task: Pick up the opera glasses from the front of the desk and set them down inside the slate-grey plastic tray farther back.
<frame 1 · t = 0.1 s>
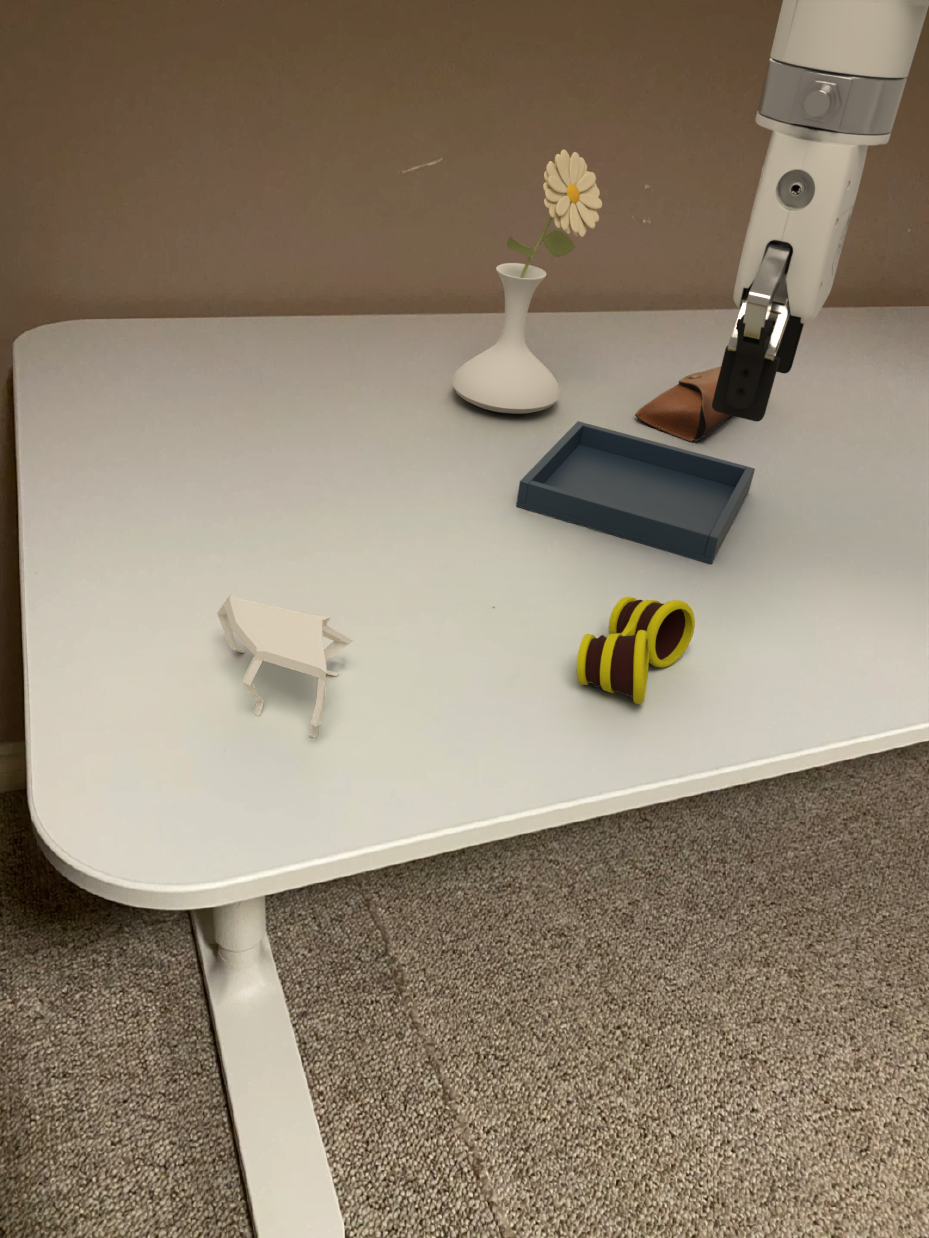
hand: (752, 390, 70), 19 cm above the table, tool pointing down, fingers open, 9 cm apart
flower in vase: (511, 403, 115), on the table
sunglasses case: (700, 411, 118), on the table
tray: (636, 499, 98), on the table
opera glasses: (627, 672, 76), on the table
origami figure: (276, 685, 71), on the table
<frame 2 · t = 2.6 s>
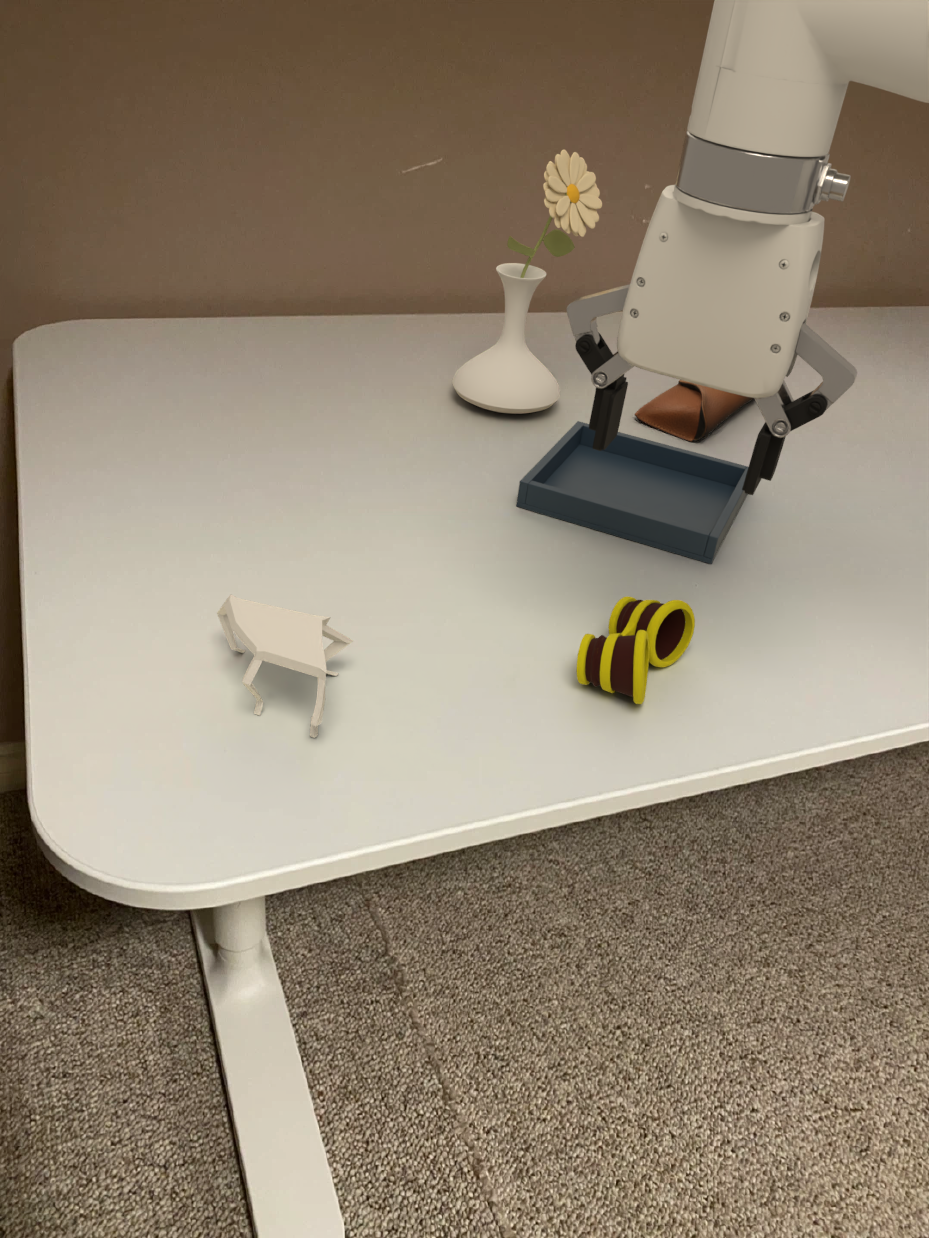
hand: (676, 464, 68), 16 cm above the table, tool pointing down, fingers open, 9 cm apart
nothing on the table moved.
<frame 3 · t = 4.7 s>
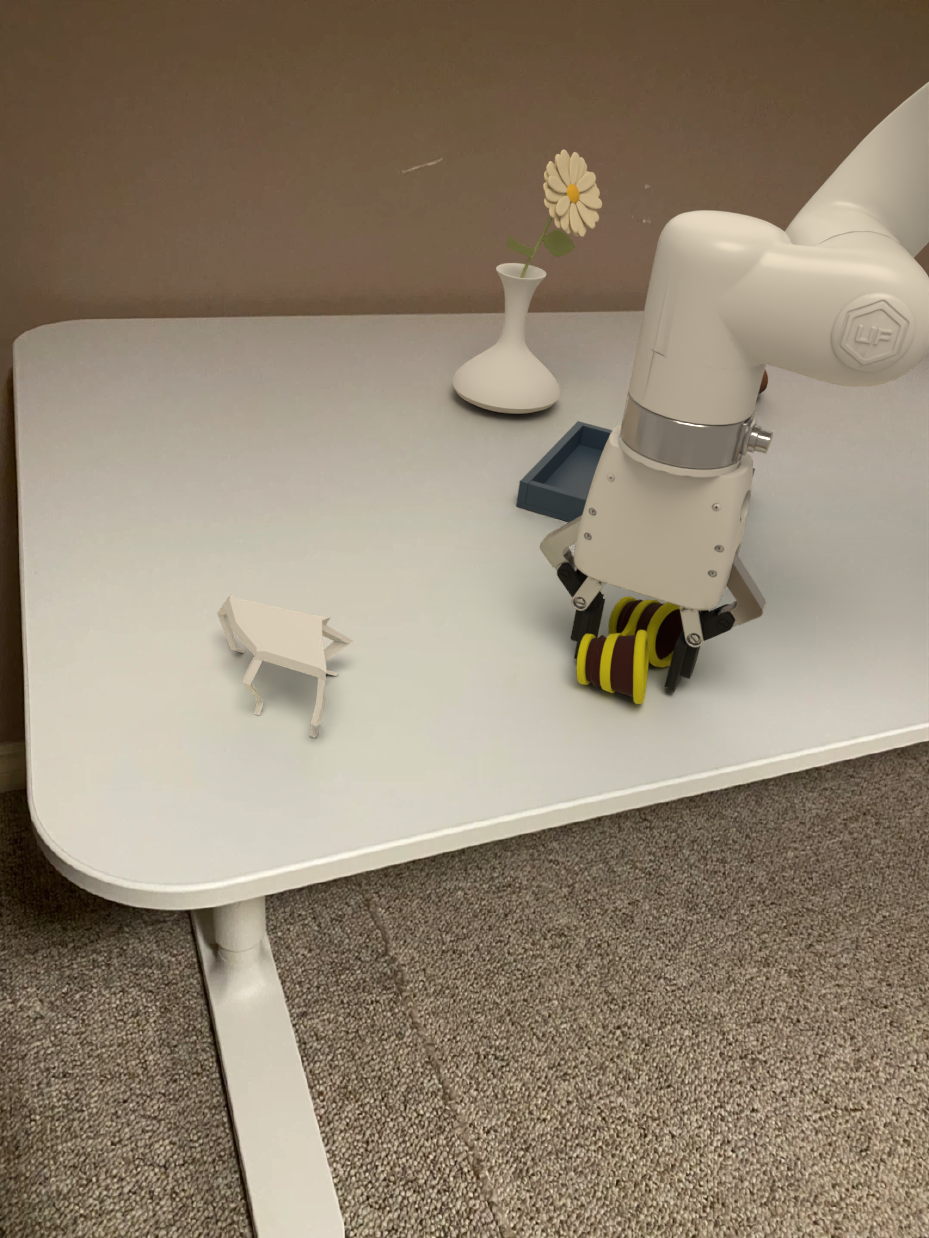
hand: (629, 663, 76), 1 cm above the table, tool pointing down, fingers closed on opera glasses, 5 cm apart
opera glasses: (627, 672, 76), on the table, touching gripper
everything else where it was.
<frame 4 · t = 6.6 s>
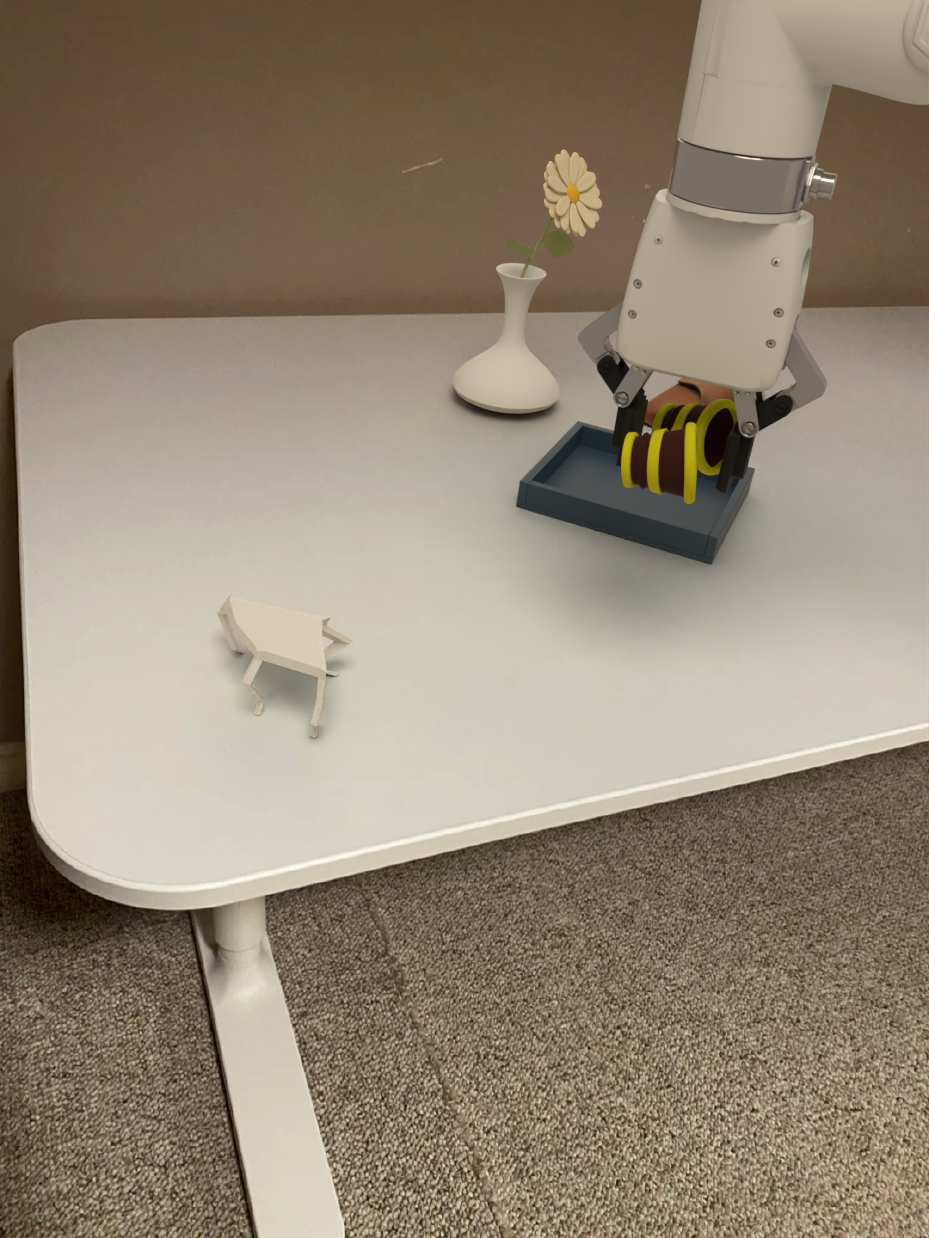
hand: (675, 469, 70), 14 cm above the table, tool pointing down, fingers closed on opera glasses, 5 cm apart
opera glasses: (673, 480, 71), point 14 cm above the table, touching gripper
everything else where it was.
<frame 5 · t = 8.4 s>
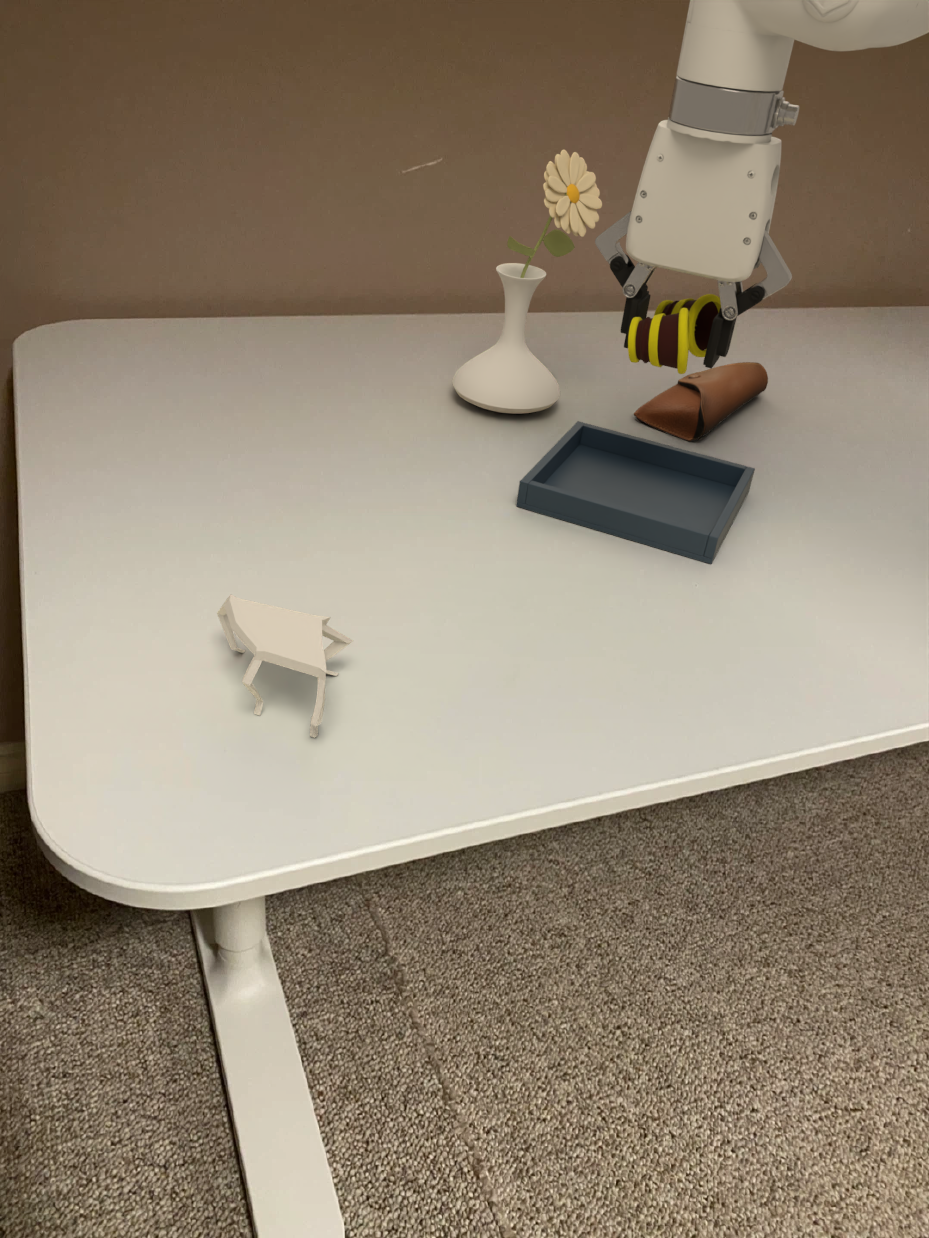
hand: (671, 351, 87), 15 cm above the table, tool pointing down, fingers closed on opera glasses, 5 cm apart
opera glasses: (669, 360, 88), point 14 cm above the table, touching gripper
everything else where it was.
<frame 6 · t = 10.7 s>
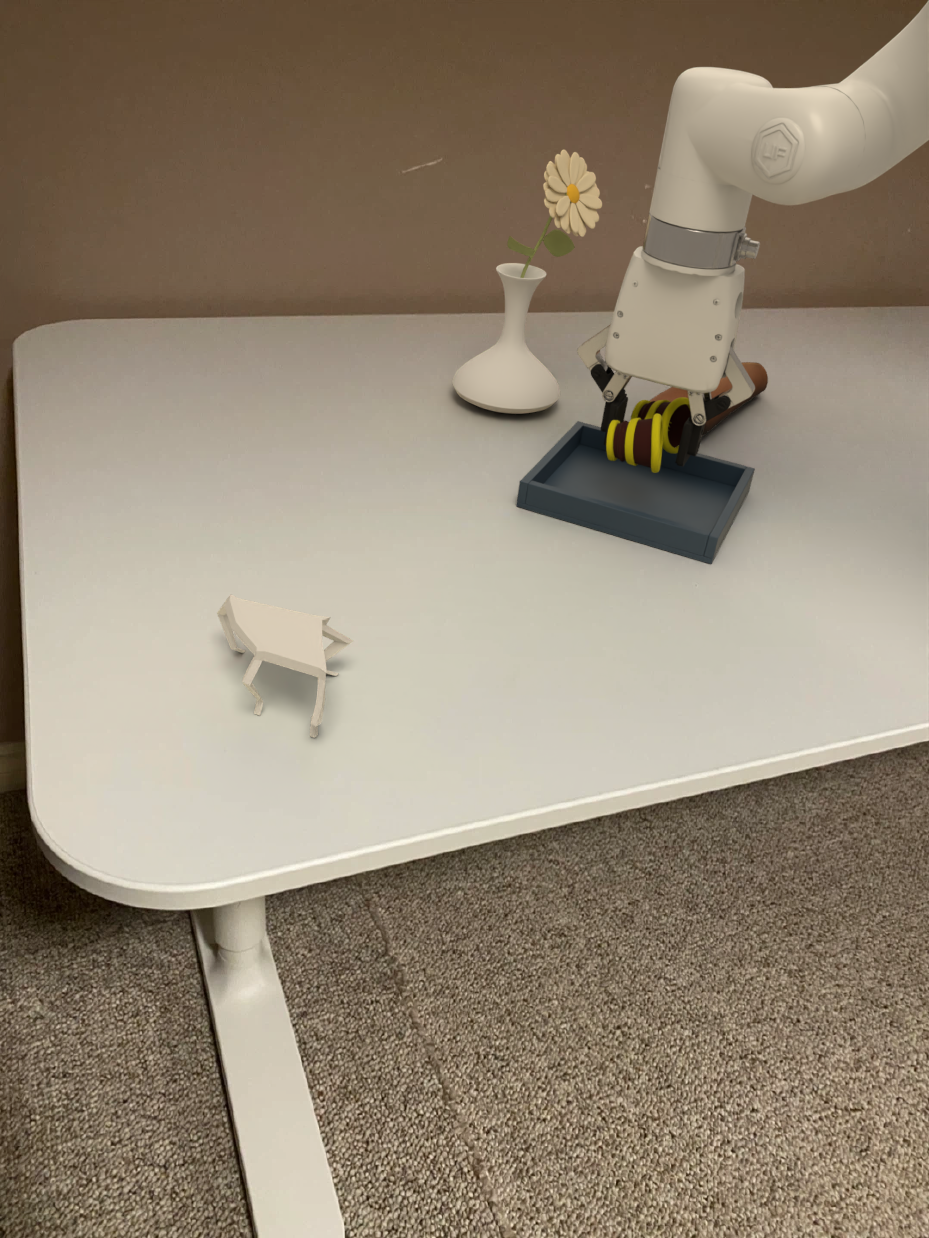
hand: (647, 448, 96), 5 cm above the table, tool pointing down, fingers closed on opera glasses, 5 cm apart
opera glasses: (645, 456, 96), point 4 cm above the table, touching gripper
everything else where it was.
when the fingers open (1 cm above the table, at t = 12.3 s): opera glasses stays where it is, resting on tray.
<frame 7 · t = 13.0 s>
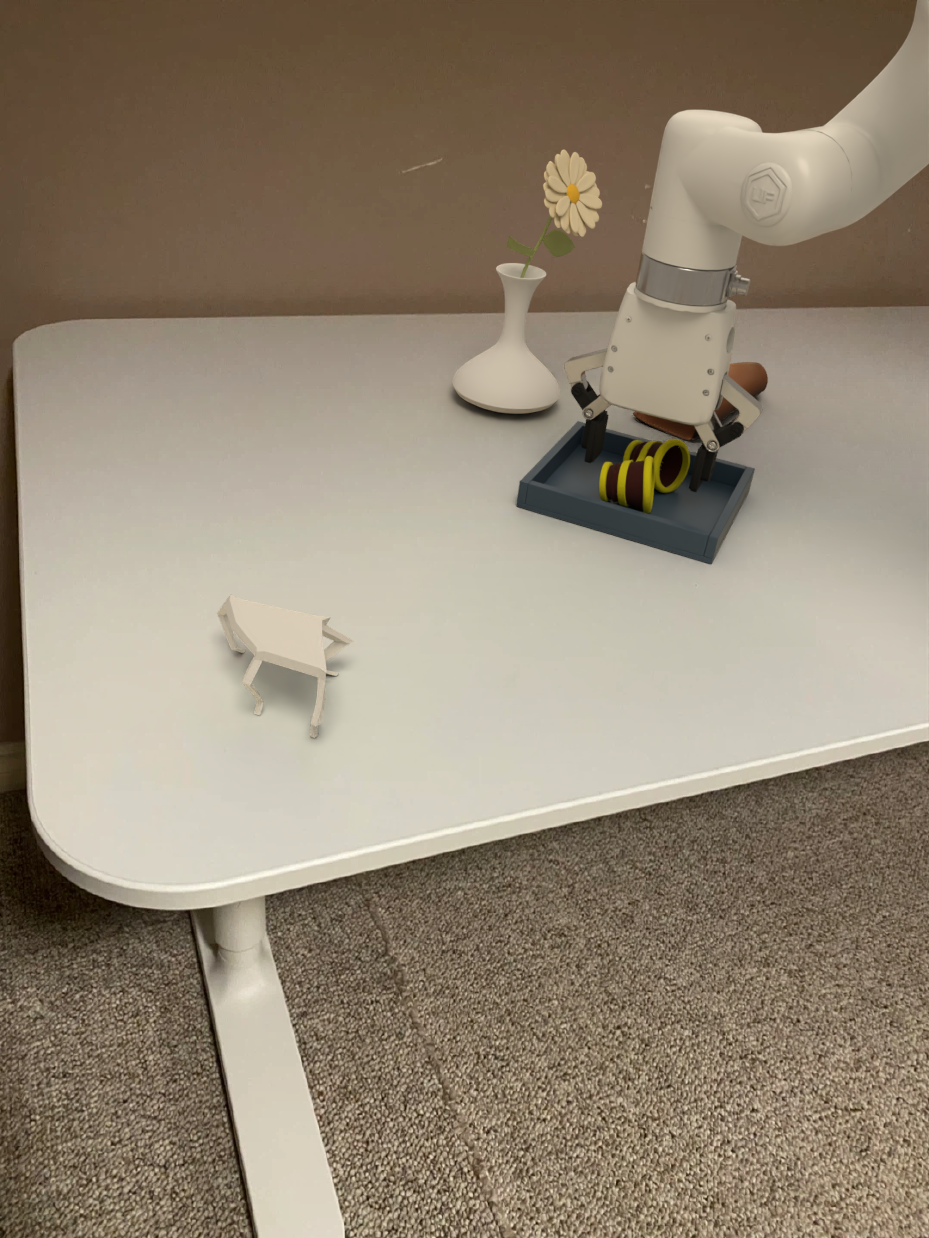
hand: (643, 471, 97), 3 cm above the table, tool pointing down, fingers open, 9 cm apart
opera glasses: (637, 496, 98), resting on tray
everything else where it was.
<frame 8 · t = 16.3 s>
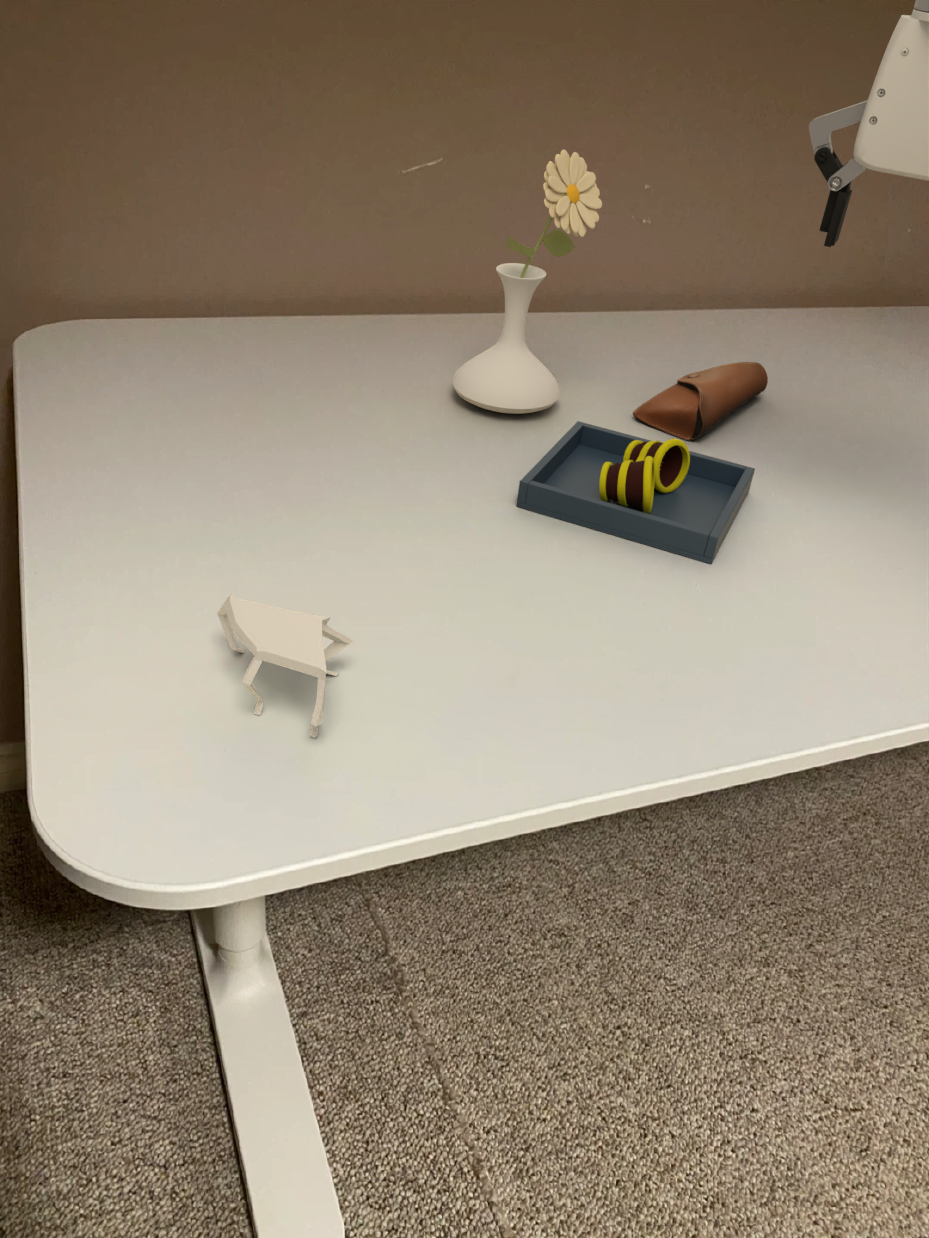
hand: (893, 256, 83), 24 cm above the table, tool pointing down, fingers open, 9 cm apart
nothing on the table moved.
at the end: opera glasses inside the target area in the tray (0.1 cm from its centre), point 0.3 cm above the tray's base; the gripper is holding nothing; opera glasses moved 26.9 cm from its start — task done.
